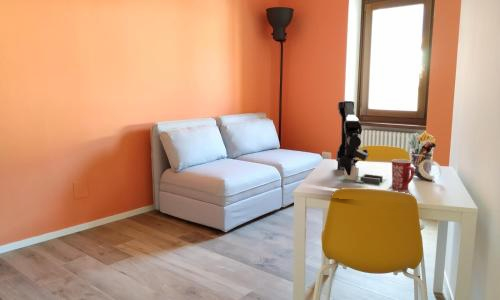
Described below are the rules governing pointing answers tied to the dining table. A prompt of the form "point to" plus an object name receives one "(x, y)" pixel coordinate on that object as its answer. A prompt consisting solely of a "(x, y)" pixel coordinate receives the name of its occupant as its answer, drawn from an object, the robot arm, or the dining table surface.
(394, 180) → the mug
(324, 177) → the dining table surface
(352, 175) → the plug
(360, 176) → the board
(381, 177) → the header
